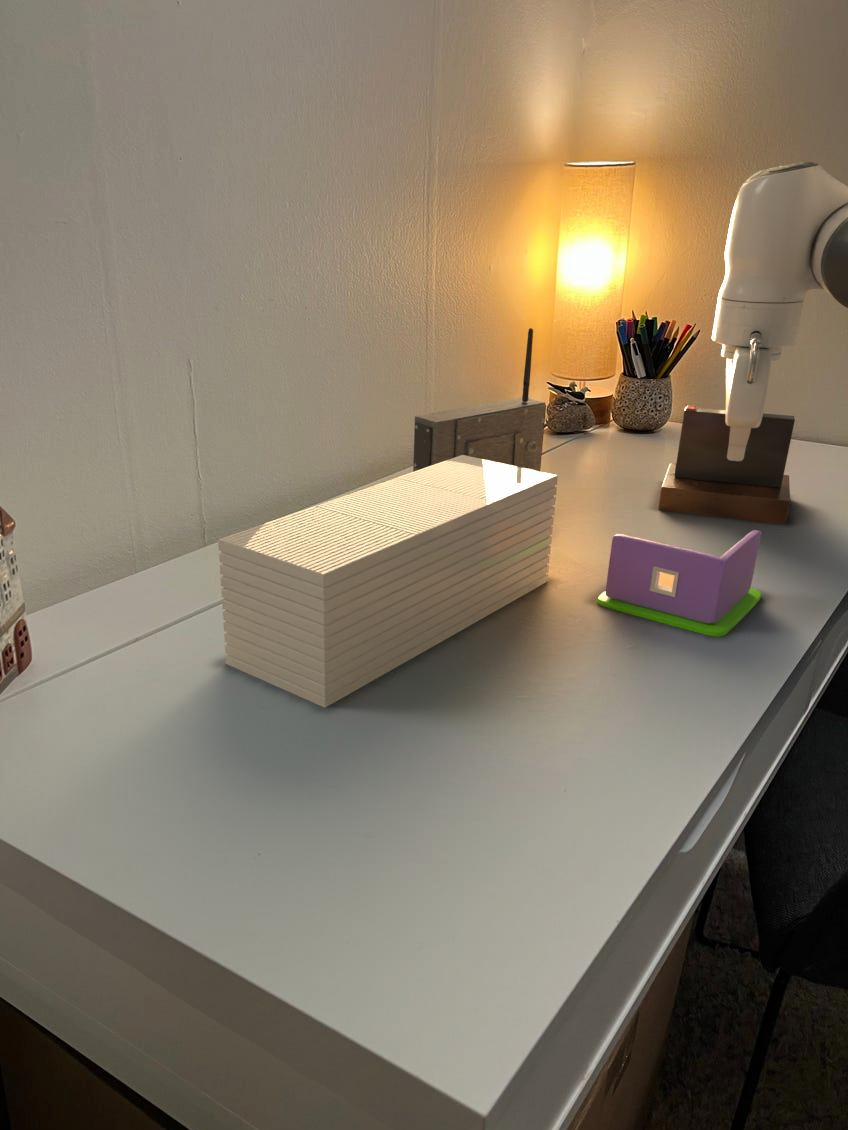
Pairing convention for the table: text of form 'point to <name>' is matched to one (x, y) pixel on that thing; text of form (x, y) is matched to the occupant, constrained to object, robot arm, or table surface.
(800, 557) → the table surface
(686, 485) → the stand
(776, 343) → the robot arm
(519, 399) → the electronic device
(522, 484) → the stack of papers
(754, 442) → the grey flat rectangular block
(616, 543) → the miniature room corner
